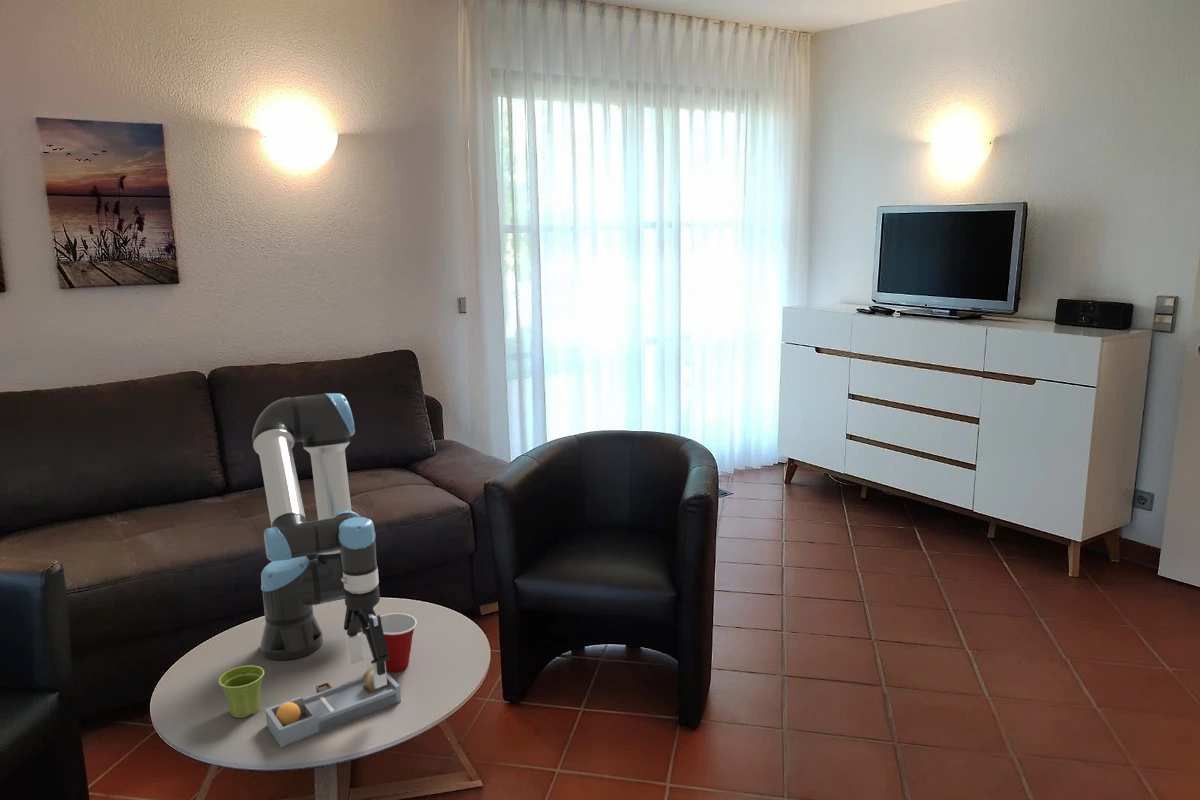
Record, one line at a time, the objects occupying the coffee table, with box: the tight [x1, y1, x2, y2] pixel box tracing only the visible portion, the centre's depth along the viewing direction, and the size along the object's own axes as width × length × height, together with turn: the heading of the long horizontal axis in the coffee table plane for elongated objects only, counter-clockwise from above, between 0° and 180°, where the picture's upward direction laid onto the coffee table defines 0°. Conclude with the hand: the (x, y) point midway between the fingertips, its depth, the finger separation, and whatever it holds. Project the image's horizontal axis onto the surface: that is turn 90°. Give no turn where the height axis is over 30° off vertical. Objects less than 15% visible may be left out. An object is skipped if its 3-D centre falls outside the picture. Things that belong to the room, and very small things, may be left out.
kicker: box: [362, 667, 387, 694], centre depth 191 cm, size 3×4×4 cm
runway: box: [264, 671, 402, 748], centre depth 186 cm, size 10×27×4 cm, turn 128°
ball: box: [276, 701, 300, 726], centre depth 182 cm, size 5×5×5 cm
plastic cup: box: [380, 612, 418, 673], centre depth 205 cm, size 11×11×12 cm
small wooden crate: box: [315, 682, 333, 694], centre depth 193 cm, size 3×3×3 cm
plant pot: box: [218, 665, 265, 719], centre depth 187 cm, size 9×9×9 cm
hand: (368, 673), depth 190 cm, fingers open, 13 cm apart
